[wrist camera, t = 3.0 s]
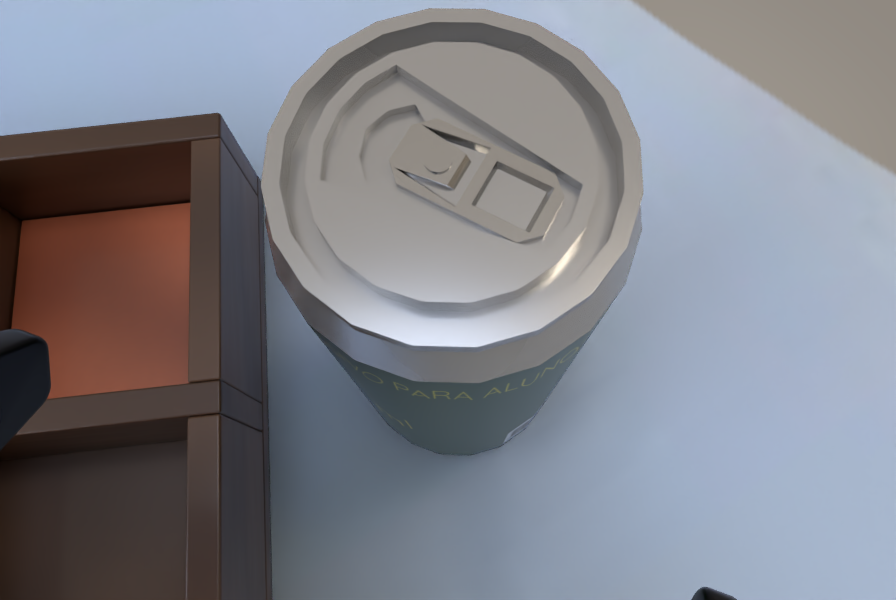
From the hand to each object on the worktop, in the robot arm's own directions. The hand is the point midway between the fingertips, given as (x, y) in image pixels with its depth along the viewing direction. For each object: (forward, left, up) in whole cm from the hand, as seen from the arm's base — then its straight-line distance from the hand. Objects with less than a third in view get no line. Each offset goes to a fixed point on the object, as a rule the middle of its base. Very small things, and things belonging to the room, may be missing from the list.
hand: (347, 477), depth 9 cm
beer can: (+4, -2, -11) cm, 12 cm away
